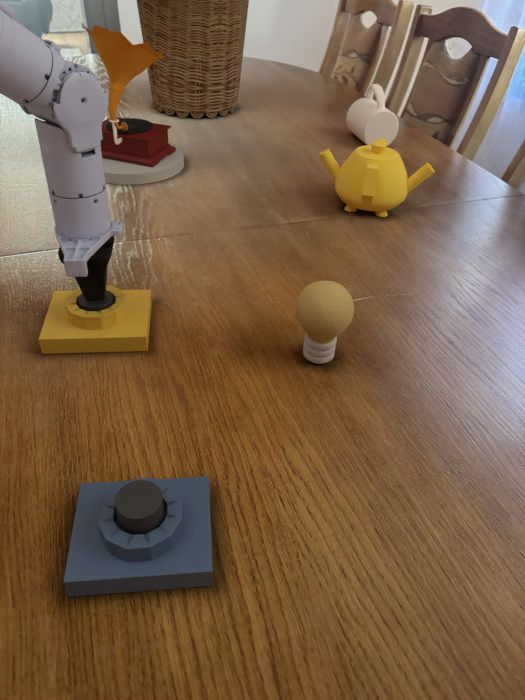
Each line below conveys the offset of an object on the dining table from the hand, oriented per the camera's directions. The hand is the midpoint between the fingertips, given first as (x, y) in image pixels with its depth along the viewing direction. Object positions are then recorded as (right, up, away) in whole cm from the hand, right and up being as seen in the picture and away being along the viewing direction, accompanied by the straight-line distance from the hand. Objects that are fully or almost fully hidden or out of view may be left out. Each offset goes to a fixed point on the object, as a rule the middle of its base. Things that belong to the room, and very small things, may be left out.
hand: (95, 297), depth 66 cm
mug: (+44, +41, +62) cm, 87 cm away
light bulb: (+26, -7, 0) cm, 27 cm away
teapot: (+39, +20, +35) cm, 56 cm away
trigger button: (0, -2, +1) cm, 2 cm away
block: (+10, -22, -20) cm, 31 cm away
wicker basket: (+3, +56, +77) cm, 95 cm away
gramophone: (-6, +30, +44) cm, 54 cm away
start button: (+10, -19, -22) cm, 31 cm away
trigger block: (0, -3, +3) cm, 4 cm away
